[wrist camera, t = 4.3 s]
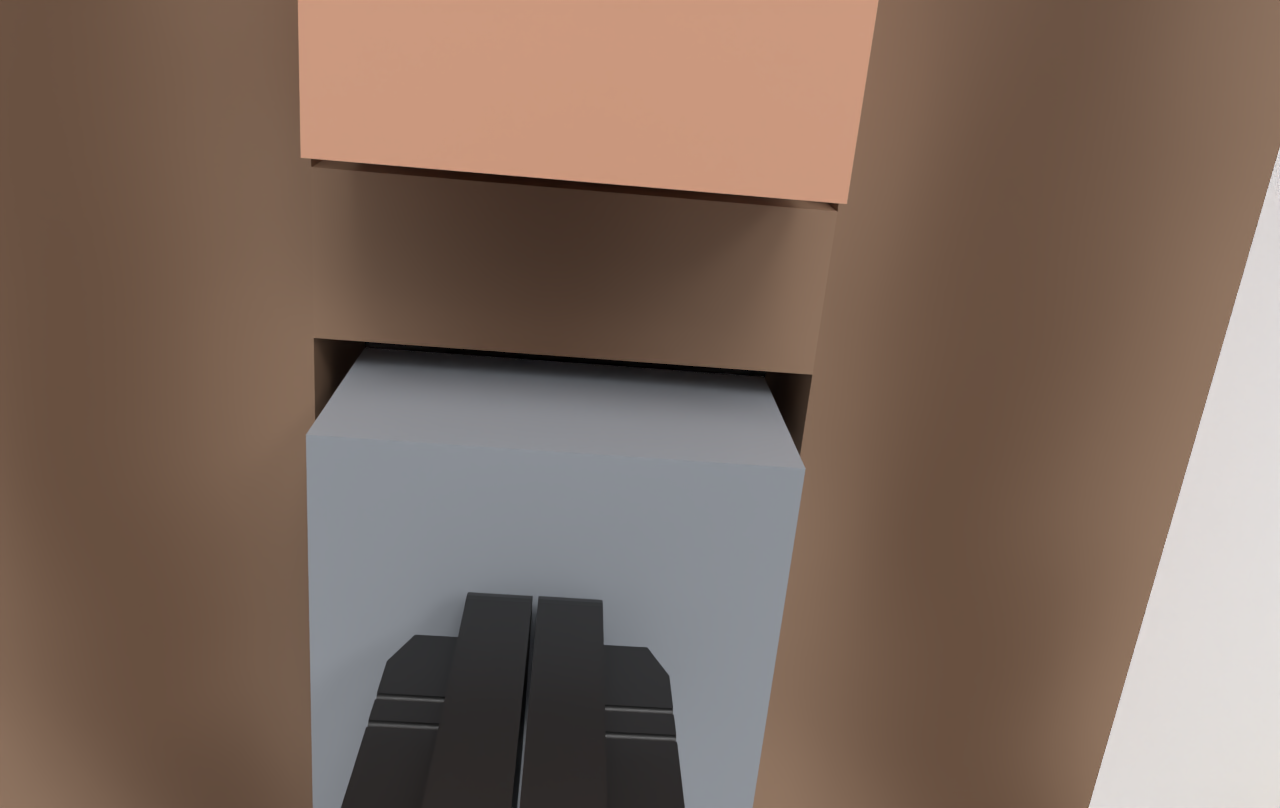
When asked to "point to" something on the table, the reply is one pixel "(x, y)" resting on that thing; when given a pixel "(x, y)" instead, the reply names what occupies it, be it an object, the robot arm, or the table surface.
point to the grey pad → (553, 533)
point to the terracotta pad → (593, 90)
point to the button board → (627, 331)
